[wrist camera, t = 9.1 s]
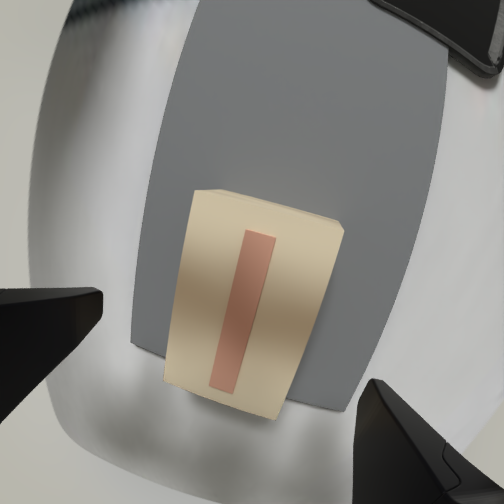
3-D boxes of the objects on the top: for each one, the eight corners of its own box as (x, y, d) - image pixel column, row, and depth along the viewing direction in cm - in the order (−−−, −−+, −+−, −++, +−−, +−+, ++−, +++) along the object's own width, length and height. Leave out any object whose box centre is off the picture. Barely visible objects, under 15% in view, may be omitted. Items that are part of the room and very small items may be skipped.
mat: (211, -17, 11) (208, -22, 11) (445, 28, 9) (448, 24, 9) (134, 338, 16) (130, 342, 16) (343, 406, 14) (344, 411, 14)
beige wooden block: (284, 381, 14) (275, 422, 11) (189, 349, 15) (162, 382, 12) (338, 221, 12) (344, 231, 9) (222, 189, 13) (193, 190, 10)
